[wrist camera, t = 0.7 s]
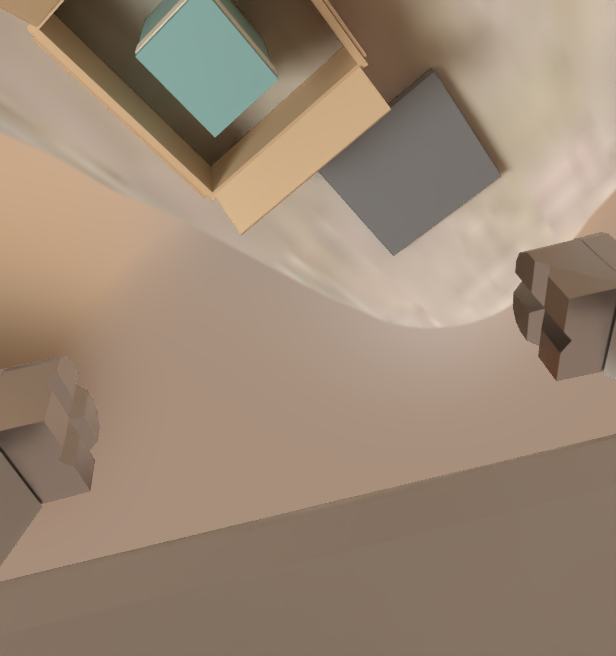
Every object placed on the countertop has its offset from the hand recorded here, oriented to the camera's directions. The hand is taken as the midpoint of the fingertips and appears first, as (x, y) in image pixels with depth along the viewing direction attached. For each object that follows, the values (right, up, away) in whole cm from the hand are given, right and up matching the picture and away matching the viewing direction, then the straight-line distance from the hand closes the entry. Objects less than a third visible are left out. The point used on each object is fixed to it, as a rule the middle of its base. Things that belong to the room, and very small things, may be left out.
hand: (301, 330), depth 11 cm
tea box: (-7, +20, +29) cm, 36 cm away
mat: (+8, +13, +37) cm, 40 cm away
